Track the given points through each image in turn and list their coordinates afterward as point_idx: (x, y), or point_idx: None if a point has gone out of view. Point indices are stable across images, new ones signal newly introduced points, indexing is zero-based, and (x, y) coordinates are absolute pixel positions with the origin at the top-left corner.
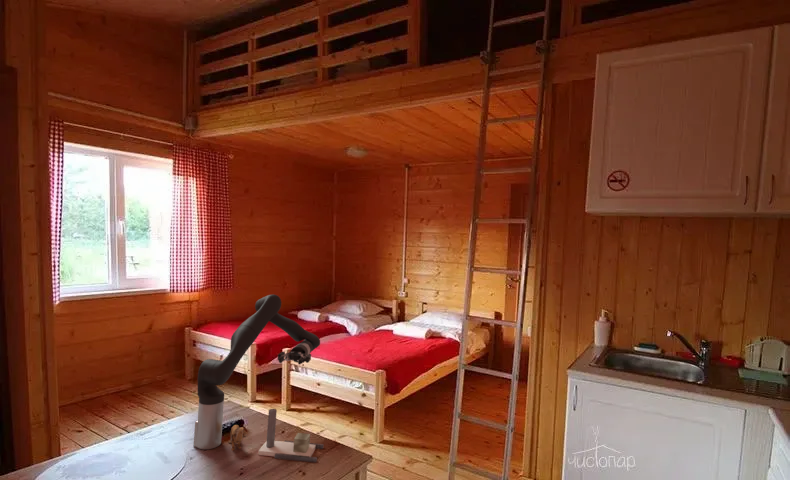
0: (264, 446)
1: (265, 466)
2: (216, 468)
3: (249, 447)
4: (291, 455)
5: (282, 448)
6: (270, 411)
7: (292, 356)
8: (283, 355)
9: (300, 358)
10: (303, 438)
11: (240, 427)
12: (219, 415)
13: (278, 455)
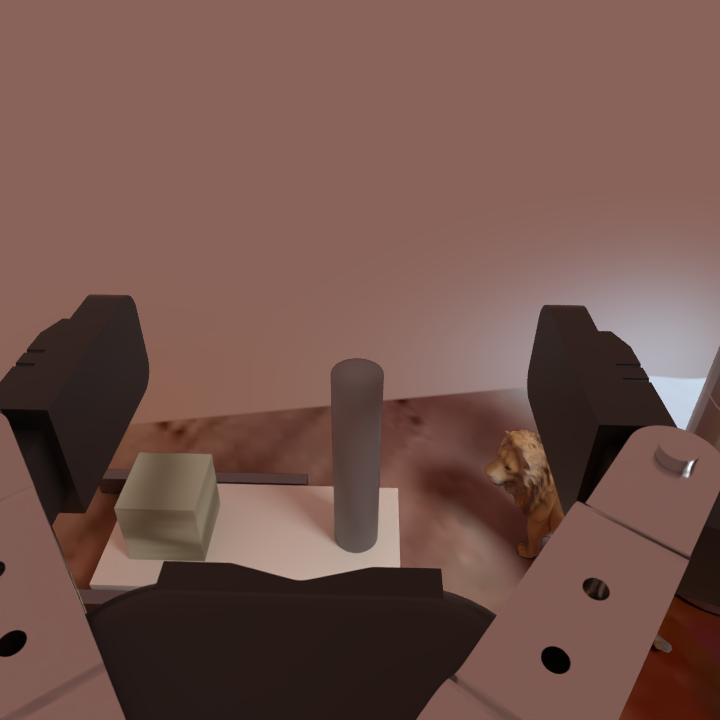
0: (385, 526)
1: (329, 440)
2: (510, 411)
3: (478, 563)
4: (225, 476)
5: (282, 522)
6: (364, 360)
7: (367, 591)
8: (635, 441)
9: (76, 344)
10: (157, 461)
11: (533, 439)
12: (696, 411)
13: (289, 475)
